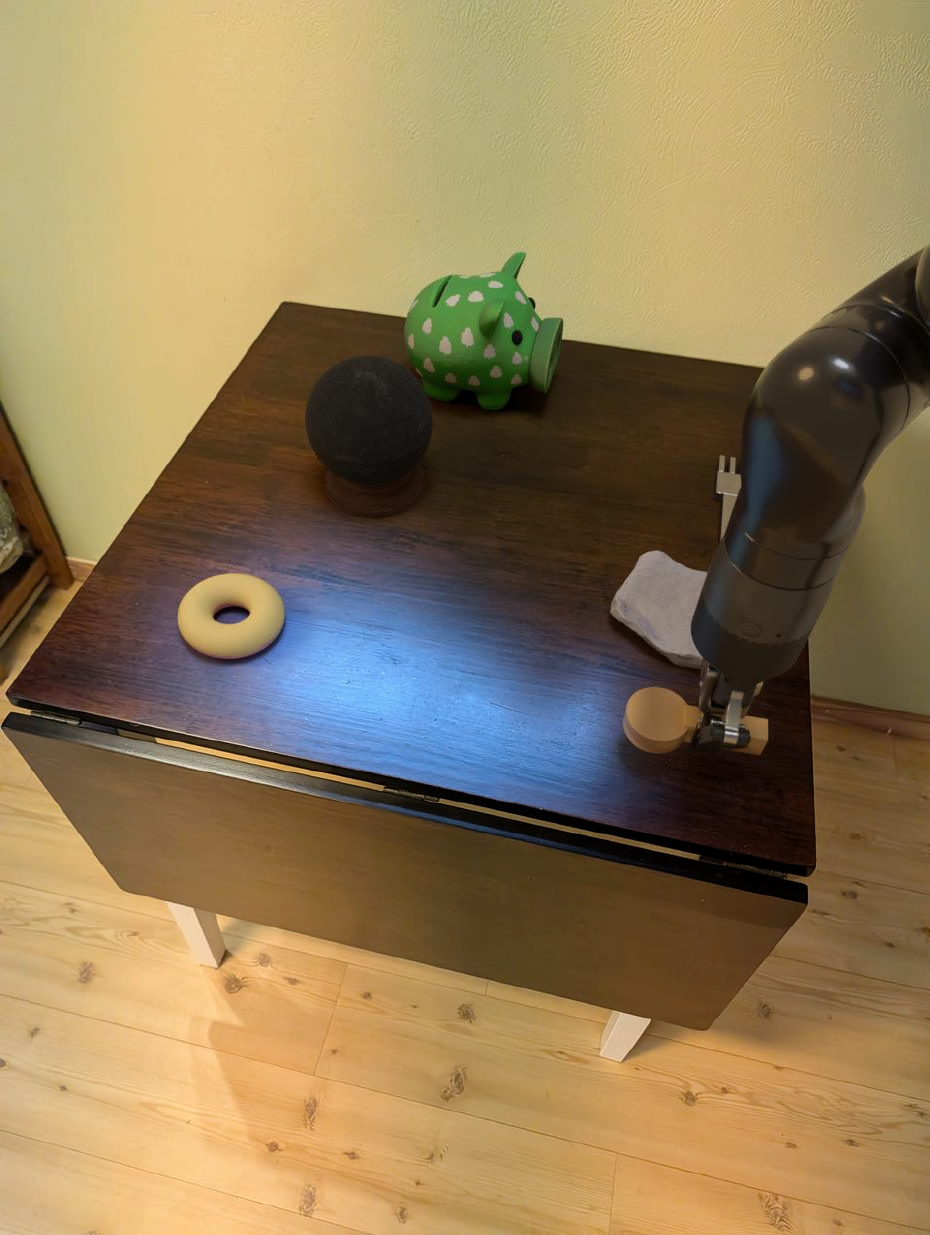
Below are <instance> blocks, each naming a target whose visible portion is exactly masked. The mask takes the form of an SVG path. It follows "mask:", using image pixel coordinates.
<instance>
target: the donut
mask: <svg viewBox="0 0 930 1235" xmlns="http://www.w3.org/2000/svg"><path fill="white" fill-rule="evenodd" d="M230 607H239V608H243V609H245V610H247V611H248V612H249V615H248V617H246V618H245V619H244V620H241V621H239V622H236V623H222V622H219V621H218V620H215V618H214V616H215V614H216V613H217V612H219V611H220V610H223V609H226V608H230ZM285 617H286V610H285V604H284V602H283V599H282V596H281V595H280V594H279V592H278V591H277V590H276V589H275V587H274V586H272V585H271V584H270V583H269V582H267V581H265V580H264V579H262V578H260V577H257V576H256V575H255V576H254V575H251V574H248V573H247V574H246V573H238V572H233V573H232V572H230V573H222V574H221V573H220V574H217V575H213V576H211V577H208V578H206V579H203V580H202V581H200V582H198V583H197V584H195V585H194V586H193V587H192V588H190V589H189V591H188V592H186V594H185V595H184V596H183V598H182V600H181V602H180V605H179V606H178V610H177V625H178V630H179V631H180V634H181V636H182V637H183V639H184V640H185V641H186V643H187V644H188V646H191V648H193V649H195V650H196V651H197V652H199V653H201V654H202V655H206V656H207V657H208V656H209V657H212V658H216V659H223V660H229V659H230V660H231V659H232V660H234V659H242V658H246V657H250V656H253V655H255V654H258V653H259V652H261V651H262V650H265V649H266V648H267V647H268V646H269V645H271V644H272V643H273V642H274V641H275V640H276V639H277V637H278V636H279V635H280V634H281V631H282V629H283V627H284V623H285V619H286V618H285Z"/></svg>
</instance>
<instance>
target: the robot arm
mask: <svg viewBox="0 0 930 1235" xmlns="http://www.w3.org/2000/svg"><path fill="white" fill-rule="evenodd" d="M929 407H930V242H929V243H928V244H927V245H925V246H923V247H922V248H920V249H919V250H917V251H916V252H914V253H913V254H911V255H909V256H908V257H907V258H905V259H904V260H902V261H900V262H898V263H897V264H895V265H893V267H891V268H890V269H889V270H887V271H886V272H884V273H883V274H882V275H879V276H878V277H877V278H875V279H874V280H873V281H871V282H870V283H867V284H866V285H865V286H864V287H863V288H861V289H860V290H858V291H857V292H856V293H854V294H853V295H851V296H850V297H848V298H847V299H845V300H844V301H843V302H841V303H840V304H838V305H837V306H836V307H835V308H833V309H832V310H830V311H829V312H828V313H826V315H824V316H823V317H822V318H820V319H819V320H818V321H816V322H815V323H814V324H813V325H811V326H810V327H809V328H807V329H806V330H805V331H804V332H803V333H802V334H800V335H798V337H796V338H795V339H794V340H792V341H791V342H790V343H788V344H787V345H786V346H785V347H783V348H782V349H781V350H780V351H778V353H776V355H775V356H773V357H772V358H771V360H770V361H769V362H768V363H767V365H766V366H765V368H764V369H763V370H762V371H761V374H760V375H759V377H758V379H757V381H756V383H755V385H754V387H753V389H752V392H751V395H750V397H749V400H748V401H747V404H746V408H745V411H744V416H743V421H742V428H741V443H740V444H741V445H740V446H741V447H740V461H741V465H740V474H741V488H740V490H739V493H738V495H737V498H736V501H735V504H734V507H733V510H732V513H731V516H730V519H729V522H728V525H727V528H726V531H725V533H724V536H723V538H722V539H721V541H720V543H719V545H718V544H717V547H716V549H715V551H714V553H713V555H712V558H711V560H710V563H709V566H708V569H707V571H706V572H707V575H706V578H705V581H704V584H703V587H702V590H701V593H700V596H699V599H698V602H697V605H696V608H695V611H694V614H693V617H692V621H691V636H692V640H693V643H694V645H695V647H696V649H697V651H698V652H699V654H700V655H701V656H702V657H703V658H702V662H701V669H700V672H699V674H700V680H699V682H698V688H699V695H698V696H697V699H696V702H695V705H694V707H698V708H699V710H700V711H701V713H700V715H699V717H698V718H697V725H696V728H695V730H694V733H693V735H692V738H691V743H689V744H690V745H689V746H690V749H691V750H692V751H695V753H700V754H705V755H710V756H714V755H716V754H717V753H719V751H720V749H722V748H724V749H723V750H727V749H730V750H729V751H733V750H735V749H741V748H746V747H747V746H748V744H749V743H750V740H751V736H750V731H749V730H746V728H747V726H746V724H740V719H742V718H744V717H746V716H747V714H748V712H749V710H750V708H751V705H752V702H753V700H754V698H755V697H756V696H759V695H760V693H761V691H762V688H763V685H764V682H765V681H766V682H767V681H769V680H771V679H774V678H777V677H780V676H781V675H783V674H784V673H786V672H788V671H789V670H790V669H791V668H792V667H793V666H794V665H795V664H796V662H797V661H798V659H799V657H800V655H801V653H802V651H803V649H804V647H805V645H806V643H807V641H808V639H809V638H810V635H811V634H812V631H813V629H814V628H815V626H816V624H817V622H818V620H819V618H820V616H821V614H822V612H823V610H824V608H825V606H826V604H827V602H828V600H829V597H830V595H831V593H832V590H833V587H834V583H835V579H836V576H837V573H838V570H839V569H840V567H841V565H842V563H843V561H844V559H845V557H846V555H847V553H848V552H849V549H850V548H851V546H852V543H853V542H854V539H855V537H856V534H857V533H858V530H859V528H860V526H861V523H862V522H863V517H864V514H865V511H866V501H867V496H866V490H865V486H864V484H865V483H864V482H865V480H866V479H867V477H868V475H869V473H870V471H872V468H873V467H874V465H875V464H876V462H877V460H878V459H879V457H881V455H882V454H883V452H884V451H885V449H886V448H887V447H888V446H889V445H890V444H891V443H892V442H893V441H894V440H895V439H896V438H897V437H898V436H899V435H900V434H901V433H902V432H903V431H904V430H905V429H906V428H907V427H908V426H909V425H910V424H911V423H912V422H913V421H914V420H915V419H917V418H918V417H919V415H920V414H921V413H922V412H924V411H925V410H926V409H927V408H929ZM712 714H716V715H722V717H720V716H715V715H712Z"/></svg>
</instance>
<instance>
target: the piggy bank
mask: <svg viewBox="0 0 930 1235" xmlns="http://www.w3.org/2000/svg"><path fill="white" fill-rule="evenodd" d="M526 256H527V252H525V251H518V252H515V253H513V254H511V256H510V257H509V258H508V259H507V261H506V262H504V264H503V266H502V268H501V270H500V271H499V270H498V271H492V272H485V273H481V274H476V275H462V274H449V275H446V276H443V277H440V278H438V279H436V280H434V281H432V282H430V283H429V284H427V285H426V286H425V287H424V288H422V290H421V291H420V292H419V293H418V294H417V295H416V296H415V298H414V300H413V301H412V303H411V304H410V307H409V309H408V312H407V315H406V319H405V323H404V329H403V330H404V332H403V334H404V335H403V336H404V346H405V351H406V354H407V356H408V359H409V361H410V364H411V365H412V368H413V369H414V371H415V372H416V374H418V376H419V378H420V380H421V383H422V386H423V388H424V389H425V392H426V394H427V397H428V398H431V399H434V400H436V401H442V402H451V401H453V400H455V398H457V397H458V396H459V394H461V391H463V390H464V391H468V392H473V393H475V395H476V401H477V403H478V404H479V406H480V408H482V409H484V410H487V411H488V410H490V411H497V410H500V409H502V408H503V407H504V406H505V405H506V404H507V403H508V402H509V400H510V397H511V394H512V390H513V389H515V388H517V387H521V386H525V385H528V384H530V385H531V387H533V388H534V389H535V390H537V391H539V392H540V393H542V394H547V392H548V391H549V389H550V386H551V383H552V380H553V376H554V374H555V372H556V368H557V366H558V361H559V357H560V353H561V350H562V349H561V348H562V343H563V333H564V318H563V317H544V318H543V319H542V318H541V317H540V316H539V315H538V313H537V312H536V301H535V299H534V298H533V297H529V296H527V294H526V293H525V291H524V289H523V288H522V286H521V285H520V284H519V282H518V277H519V273H520V272H521V268H522V266H523V264H524V261H525V258H526Z"/></svg>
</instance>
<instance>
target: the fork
mask: <svg viewBox="0 0 930 1235" xmlns="http://www.w3.org/2000/svg"><path fill="white" fill-rule="evenodd" d="M736 461H737V457H734V456H730V458H729V460H728V464H727V472H726V471H725V463H726V456H725V455H721V454H720V455H719V457H718V460H717V463H716V475H715V478H714V491H713V501H717V502H720V509H719V523H718V524H719V526H718V540H717V546H718V545H719V543H720V541H721V539H722V538H723V536H724V533H725V531H726V528H727V525H728V522H729V519H730V516H731V513H732V510H733V507H734V504H735V501H736V498H737V495H738V493H739V490H740V488H741V474H740V465H741V460H740V461H739V464H738V472H737V473H736V463H737V462H736Z"/></svg>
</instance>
